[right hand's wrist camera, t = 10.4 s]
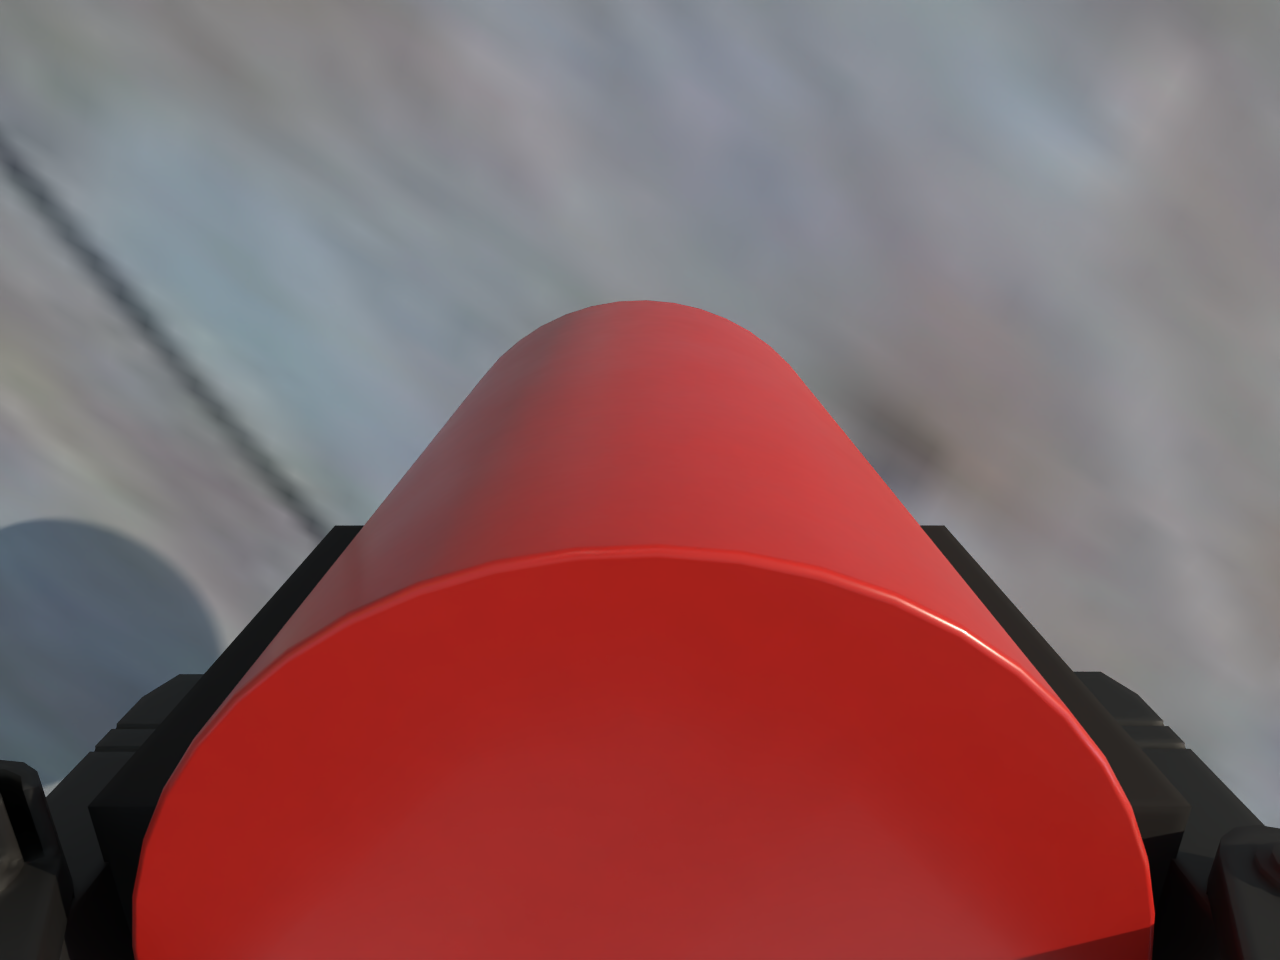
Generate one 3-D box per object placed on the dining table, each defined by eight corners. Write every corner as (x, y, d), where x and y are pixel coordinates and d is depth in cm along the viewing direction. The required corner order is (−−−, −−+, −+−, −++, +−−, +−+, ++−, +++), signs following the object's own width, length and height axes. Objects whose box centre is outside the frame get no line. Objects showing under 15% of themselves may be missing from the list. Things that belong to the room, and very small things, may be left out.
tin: (893, 366, 17) (1377, 719, 6) (759, 695, 20) (911, 1352, 9) (496, 247, 17) (173, 396, 5) (415, 609, 19) (98, 1214, 8)
